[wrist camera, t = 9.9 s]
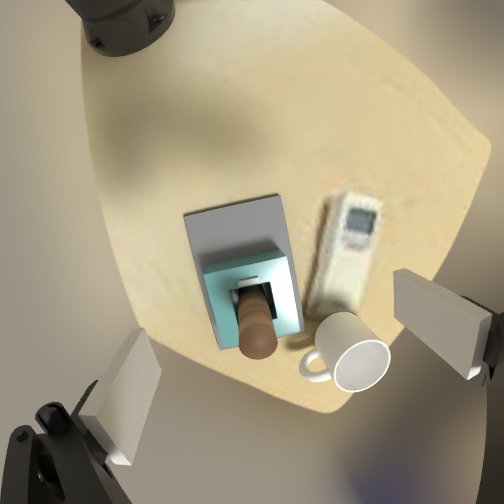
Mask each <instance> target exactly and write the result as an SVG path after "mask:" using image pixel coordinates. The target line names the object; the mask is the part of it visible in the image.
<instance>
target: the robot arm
mask: <svg viewBox="0 0 504 504" xmlns="http://www.w3.org/2000/svg"><path fill="white" fill-rule="evenodd" d="M65 1H66V2H67V3H68V4H69V5H70V6H71V7H72V8H73V9H74V11H75V12H76V13H77V14H78V15H79V16H80V17H81V18H82V20H83V25H84V30H85V35H86V39H87V41H88V43H89V44H90V46H91V47H92V48H93V49H94V50H95V51H96V52H98V53H99V54H101V55H104V56H111V57H116V56H124V55H128V54H131V53H134V52H137V51H139V50H141V49H143V48H145V47H147V46H148V45H150V44H152V43H153V42H154V41H156V40H157V39H158V38H159V37H161V36H162V35H163V34H164V33H165V32H166V30H167V29H168V28H169V26H170V25H171V23H172V21H173V19H174V16H175V5H174V2H173V0H65ZM393 277H394V318H396V319H397V320H398V321H399V322H400V323H402V324H403V325H404V326H405V327H406V328H408V329H409V330H410V331H411V332H412V333H414V334H415V335H416V336H417V337H418V338H420V339H421V340H422V341H423V342H424V343H426V344H427V345H428V346H429V347H430V348H431V349H432V350H434V351H435V352H436V353H437V354H438V355H439V356H441V357H442V358H443V359H444V360H445V361H446V362H447V363H448V364H450V365H451V366H452V367H453V368H454V369H456V371H458V372H459V373H460V374H461V375H462V376H463V377H464V378H466V380H469V379H470V378H472V377H473V376H475V375H476V374H478V373H479V372H480V368H481V365H482V361H484V362H486V363H487V364H488V365H487V368H486V372H485V375H484V378H483V382H482V386H483V385H484V383H485V381H486V384H487V424H486V441H485V452H484V460H483V468H482V475H481V481H480V486H479V492H478V496H477V500H476V504H504V312H503V313H501V314H500V315H499V314H497V313H495V312H494V311H492V310H490V309H488V308H486V307H484V306H483V305H480V304H479V303H477V302H474V301H473V300H472V299H470V298H468V297H465V296H460V295H457V294H455V293H453V292H451V291H449V290H447V289H445V288H443V287H441V286H439V285H437V284H435V283H433V282H432V281H430V280H428V279H426V278H424V277H422V276H420V275H418V274H416V273H414V272H412V271H410V270H408V269H406V268H403V269H400V270H396V271H393ZM161 372H162V371H161V368H160V366H159V364H158V361H157V359H156V356H155V354H154V352H153V349H152V347H151V344H150V342H149V339H148V336H147V334H146V331H145V329H144V328H140V329H132V330H131V331H130V332H129V334H128V335H127V337H126V338H125V340H124V341H123V343H122V345H121V346H120V347H119V349H118V350H117V352H116V353H115V355H114V357H113V358H112V360H111V361H110V363H109V364H108V366H107V368H106V369H105V371H104V372H103V374H102V375H101V377H100V379H99V380H96V381H94V382H93V383H92V384H91V385H90V386H89V387H88V388H87V390H86V391H85V393H84V395H83V396H82V398H81V399H80V401H79V402H78V404H77V406H76V408H75V409H74V411H73V412H72V414H71V416H69V414H68V413H67V411H66V410H65V408H64V407H63V405H62V404H61V403H59V402H51V403H48V404H46V405H44V406H42V407H41V408H40V409H39V410H38V411H37V413H36V415H35V419H36V421H37V422H38V424H39V425H40V426H41V428H42V429H43V430H44V432H45V433H44V434H36V433H35V431H34V430H33V429H32V427H31V426H28V425H23V426H20V427H18V428H16V429H15V430H14V431H13V433H12V434H11V436H10V440H9V444H8V449H7V454H6V460H5V466H4V472H3V479H2V487H1V498H0V504H132V503H131V501H130V500H129V498H128V497H127V495H126V494H125V492H124V491H123V489H122V488H121V486H120V485H119V483H118V481H117V480H116V478H115V476H114V474H113V473H112V471H111V469H110V468H109V466H108V465H107V464H106V463H105V460H106V457H107V455H108V456H109V457H110V459H111V460H112V461H113V462H114V463H115V464H121V465H132V462H133V459H134V456H135V452H136V449H137V445H138V442H139V439H140V436H141V433H142V430H143V426H144V423H145V420H146V417H147V414H148V411H149V408H150V405H151V402H152V398H153V396H154V393H155V390H156V387H157V384H158V381H159V378H160V375H161ZM38 474H39V475H40V478H39V475H38Z"/></svg>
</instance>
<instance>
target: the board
mask: <svg viewBox="0 0 504 504" xmlns="http://www.w3.org/2000/svg"><path fill="white" fill-rule="evenodd" d="M184 220H185V224H186V228H187V232H188V236H189V241H190V245H191V249H192V253H193V257H194V261H195V264H196V268H197V272H198V276H199V280H200V283H201V287H202V291H203V294H204V298H205V302H206V305H207V309H208V312H209V316H210V319H211V323H212V326H213V329H214V333H215V336H216V339H217V343H218V346H219V349H220V350H224V349H229V348H234V347H239V345H236V346H231V347H226V348H224V347H223V344H222V340H221V337H220V333H219V330H218V327H217V323H216V320H215V316H214V313H213V309H212V305H211V302H210V298H209V294H208V291H207V287H206V283H205V279H204V276H203V274H204V272H205V269H206V267H207V265H211V264H215V263H220V262H224V261H229V260H233V259H238V258H242V257H247V256H251V255H256V254H260V253H264V252H269V251H273V250H278V249H280V250H281V251H282V252H283V253H284V254H285V255H286V256H287V260H288V266H289V271H290V276H291V282H292V287H293V293H294V298H295V304H296V310H297V316H298V322H299V327H300V331H298V332H294V333H290V334H286V335H282V336H277V338H280V337H284V336H288V335H292V334H296V333H300V332H304V331H305V326H304V320H303V314H302V308H301V302H300V296H299V290H298V284H297V278H296V273H295V267H294V262H293V256H292V251H291V246H290V241H289V235H288V230H287V225H286V220H285V215H284V210H283V205H282V200H281V196H280V195H279V196H274V197H269V198H264V199H260V200H255V201H250V202H246V203H241V204H236V205H232V206H227V207H223V208H219V209H214V210H210V211H206V212H201V213H197V214H193V215H189V216H185V217H184ZM261 284H262V285H263V287H264V290H265V294H266V298H267V302H268V305H272V300H271V295H270V290H269V285H268V282H264V283H261ZM238 290H239V288H237V289H233V290H232V292H233V296H234V300H235V304H236V308H237V312H238Z"/></svg>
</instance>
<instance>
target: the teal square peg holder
mask: <svg viewBox="0 0 504 504" xmlns="http://www.w3.org/2000/svg"><path fill="white" fill-rule="evenodd" d="M203 276H204V279H205V283H206V287H207V291H208V294H209V298H210V302H211V305H212V309H213V313H214V316H215V320H216V323H217V327H218V330H219V333H220V337H221V340H222V344H223V347H224V348H226V347H231V346H236V345H239V331H238V312H237V308H236V304H235V300H234V296H233V292H232V290H233V289H237V288H242V287H246V286H251V285H255V284H260V283H264V282H268V285H269V290H270V295H271V300H272V305H268V306H269V309H270V313H271V317H272V321H273V325H274V329H275V333H276V336H282V335H286V334H290V333H294V332H298V331H300V327H299V322H298V316H297V310H296V304H295V298H294V293H293V287H292V282H291V276H290V271H289V266H288V260H287V256H286V255H285V254H284V253H283V252H282V251H281V250H280V249H278V250H273V251H269V252H264V253H260V254H256V255H251V256H247V257H242V258H238V259H233V260H229V261H224V262H220V263H215V264H211V265H207V267H206V269H205V272H204V274H203Z"/></svg>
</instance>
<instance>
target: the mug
mask: <svg viewBox="0 0 504 504" xmlns="http://www.w3.org/2000/svg"><path fill="white" fill-rule="evenodd" d="M315 346H316V348H314V349H312V350H311V351H309V352H308V353H306V354H305V355H304V356H303V357H302V359H301V361H300V363H299V372H300V374H301V376H302V377H303V378H304V379H306V380H308V381H312V382H321V381H326V380H329V379H331V378H333V380H334V382H335V384H336V385H337V386H338V387H339V388H340V389H342V390H344V391H347V392H358V391H362V390H365V389H367V388H369V387H371V386H372V385H374V384H375V383H376V382H378V381H379V380H380V379H381V377H382V376H383V375H384V374H385V372H386V370H387V368H388V366H389V363H390V351H389V348H388V347H387V345H386V344H385V343H384V342H383V341H382V340H381V339H380V338H379V337H378V336H377V335H376V334H375V333H374V332H373V331H372V330H371V329H370V328H369V327H368V326H367V325H366V324H365V323H364V322H363V321H362V320H361V319H359V318H358V317H357V316H356V315H354V314H352V313H349V312H338V313H334V314H332V315H330V316H328V317H327V318H326V319H324V320H323V321H322V322H321V324H320V325H319V327H318V328H317V331H316V334H315ZM319 356H321V358H322V360H323V362H324V364H325V365H326V367H327V369H324V370H322V371H319V372H311V371H309V369H308V364H309V363H310V361H312V360H313V359H314V358H316V357H319Z"/></svg>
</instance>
